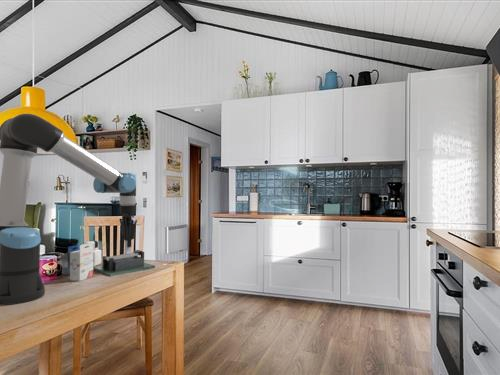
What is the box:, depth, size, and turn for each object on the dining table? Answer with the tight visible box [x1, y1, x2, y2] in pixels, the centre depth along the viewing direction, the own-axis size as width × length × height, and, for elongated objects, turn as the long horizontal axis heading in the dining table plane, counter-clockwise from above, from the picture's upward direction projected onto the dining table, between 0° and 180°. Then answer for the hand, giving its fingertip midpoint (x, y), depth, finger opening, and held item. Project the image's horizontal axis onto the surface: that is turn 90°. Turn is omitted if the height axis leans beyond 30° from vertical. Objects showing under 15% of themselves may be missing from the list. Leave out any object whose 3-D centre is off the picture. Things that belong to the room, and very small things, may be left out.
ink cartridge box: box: [69, 243, 94, 282], centre depth 138 cm, size 9×5×15 cm, turn 168°
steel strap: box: [104, 249, 143, 261], centre depth 156 cm, size 17×4×2 cm, turn 138°
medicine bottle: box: [84, 240, 102, 267], centre depth 165 cm, size 7×7×12 cm
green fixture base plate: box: [93, 249, 156, 277], centre depth 156 cm, size 22×18×8 cm
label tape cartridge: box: [60, 243, 82, 275], centre depth 149 cm, size 9×4×12 cm, turn 171°
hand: (128, 253), depth 157 cm, fingers closed
